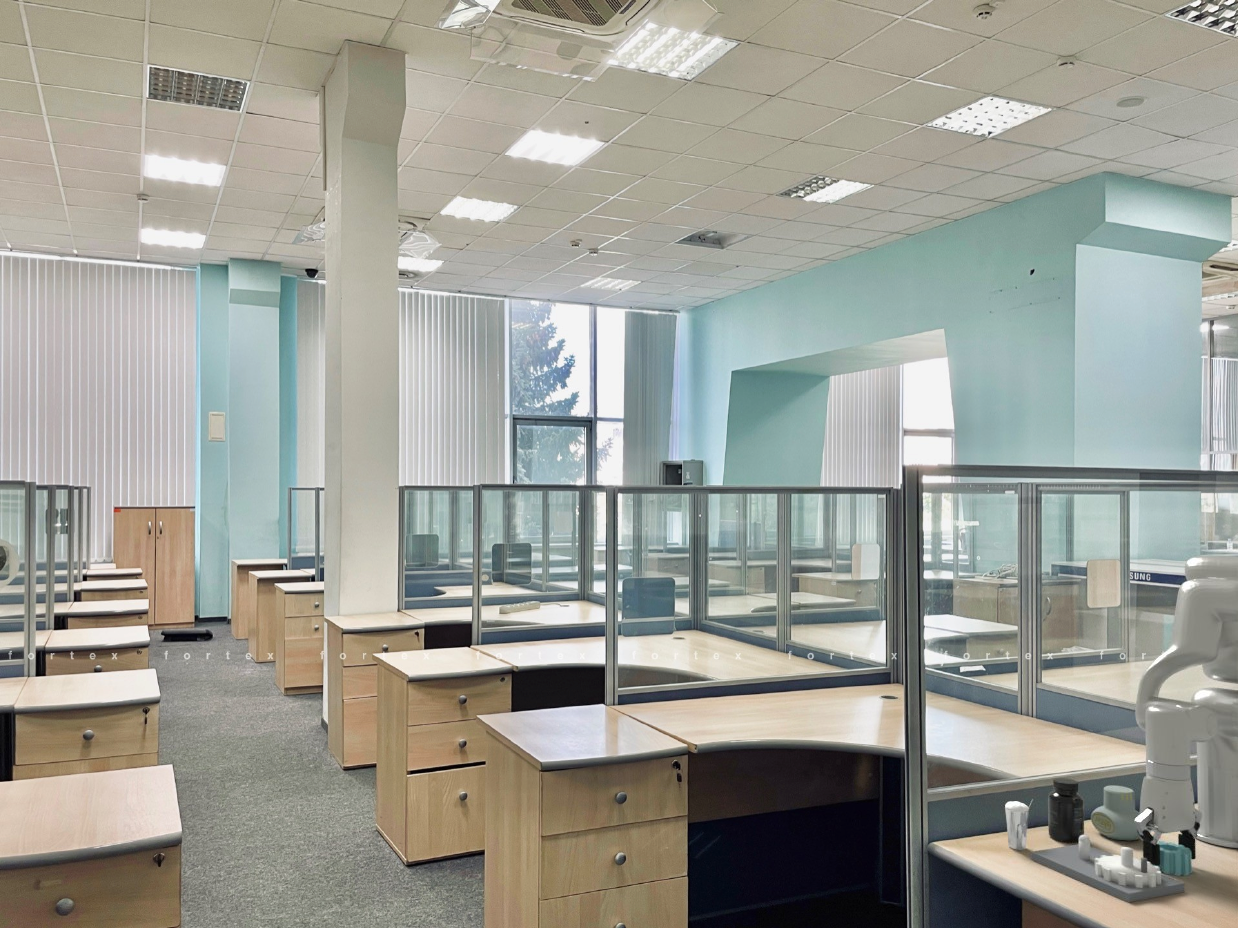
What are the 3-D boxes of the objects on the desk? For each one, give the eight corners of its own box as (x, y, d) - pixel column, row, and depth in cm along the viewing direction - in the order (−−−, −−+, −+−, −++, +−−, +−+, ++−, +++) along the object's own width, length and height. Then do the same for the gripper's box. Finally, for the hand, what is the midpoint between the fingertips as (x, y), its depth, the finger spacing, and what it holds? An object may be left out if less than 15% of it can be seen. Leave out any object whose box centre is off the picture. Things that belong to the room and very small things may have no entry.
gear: (1165, 859, 187) (1165, 839, 187) (1200, 872, 180) (1199, 851, 180) (1139, 864, 184) (1139, 843, 184) (1173, 877, 177) (1173, 855, 178)
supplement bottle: (1078, 834, 201) (1078, 777, 202) (1088, 844, 195) (1087, 786, 195) (1044, 831, 203) (1044, 775, 203) (1053, 842, 196) (1052, 783, 197)
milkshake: (1035, 852, 190) (1035, 802, 190) (1007, 850, 191) (1007, 800, 191) (1030, 844, 194) (1030, 795, 195) (1003, 842, 195) (1003, 793, 196)
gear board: (1083, 850, 191) (1083, 818, 192) (1184, 891, 171) (1183, 854, 171) (1031, 859, 186) (1030, 825, 186) (1128, 902, 166) (1128, 864, 166)
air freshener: (1084, 829, 205) (1084, 782, 205) (1117, 826, 207) (1116, 780, 207) (1122, 846, 194) (1121, 797, 195) (1156, 843, 196) (1155, 795, 197)
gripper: (1181, 762, 190) (1182, 848, 189) (1119, 769, 183) (1120, 858, 182) (1217, 771, 183) (1218, 861, 182) (1153, 779, 176) (1155, 872, 175)
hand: (1169, 859), depth 182 cm, fingers open, 9 cm apart
